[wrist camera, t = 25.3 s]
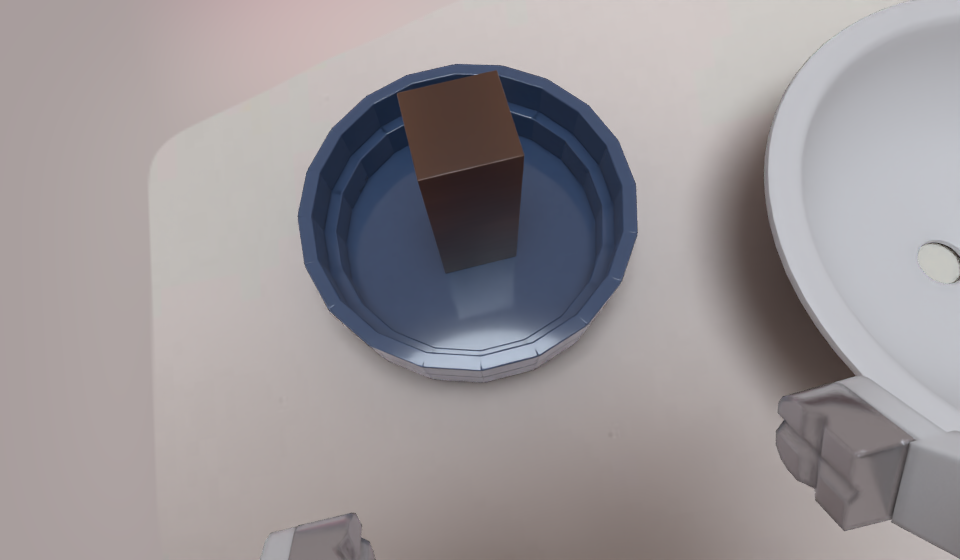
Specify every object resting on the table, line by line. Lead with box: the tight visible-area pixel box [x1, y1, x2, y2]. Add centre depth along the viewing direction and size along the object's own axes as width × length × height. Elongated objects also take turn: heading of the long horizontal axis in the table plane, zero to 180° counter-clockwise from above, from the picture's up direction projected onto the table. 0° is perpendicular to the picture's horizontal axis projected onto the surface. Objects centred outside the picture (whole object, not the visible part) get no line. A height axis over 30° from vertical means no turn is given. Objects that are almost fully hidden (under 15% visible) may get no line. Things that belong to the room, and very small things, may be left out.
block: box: [397, 70, 524, 273], centre depth 24 cm, size 4×4×10 cm
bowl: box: [298, 64, 638, 383], centre depth 27 cm, size 16×16×4 cm
